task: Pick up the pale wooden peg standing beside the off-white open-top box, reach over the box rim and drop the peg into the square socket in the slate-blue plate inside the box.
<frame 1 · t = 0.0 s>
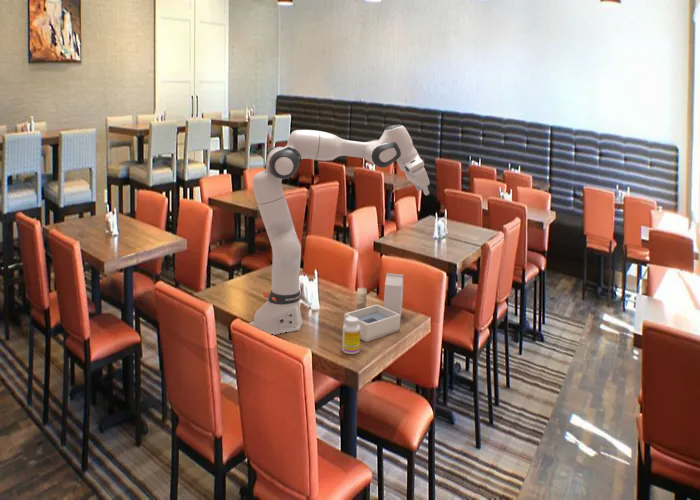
hand: (423, 192, 237), 54 cm above the table, tool tilted 30°, fingers open, 8 cm apart
supplement bottle: (350, 351, 218), on the table
socket box: (371, 330, 237), on the table
milk carton: (392, 315, 253), on the table
peg: (361, 315, 252), on the table
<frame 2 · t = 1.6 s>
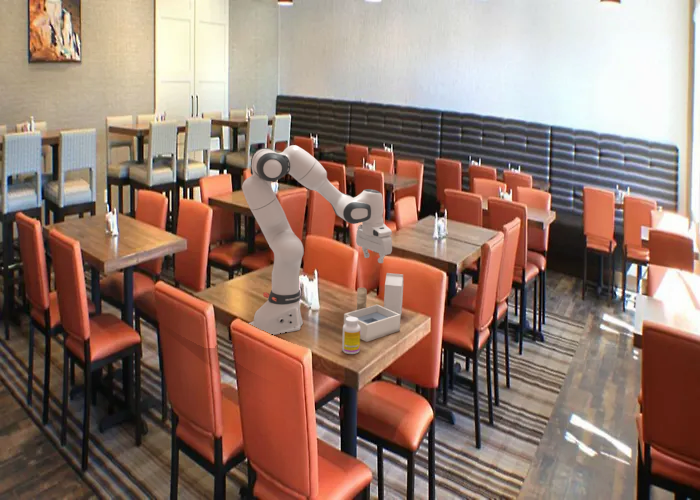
hand: (373, 260, 245), 25 cm above the table, tool pointing down, fingers open, 8 cm apart
nothing on the table moved.
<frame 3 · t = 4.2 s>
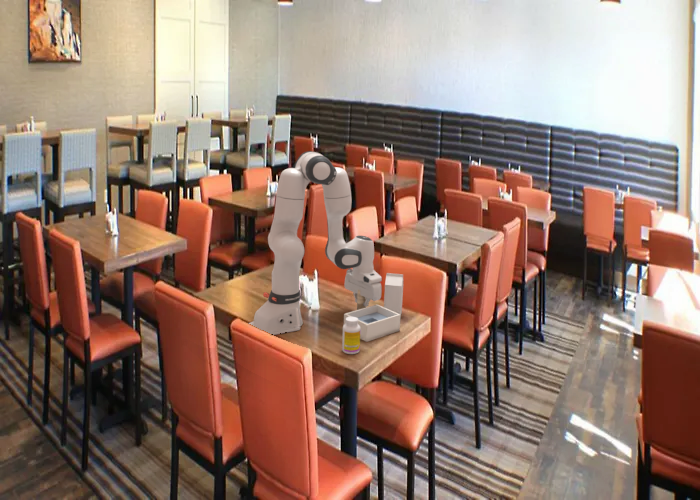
hand: (361, 304, 250), 5 cm above the table, tool pointing down, fingers closed on peg, 4 cm apart
peg: (361, 315, 252), on the table, touching gripper
everything else where it was.
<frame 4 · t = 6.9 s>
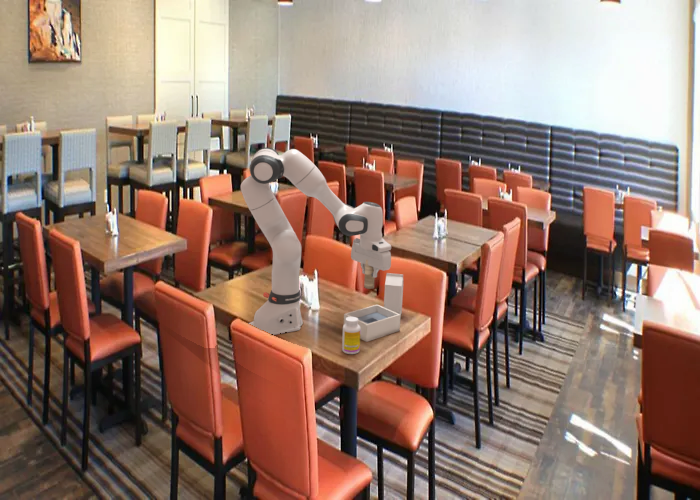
hand: (369, 275, 237), 21 cm above the table, tool pointing down, fingers closed on peg, 4 cm apart
peg: (369, 287, 238), point 16 cm above the table, touching gripper
everything else where it was.
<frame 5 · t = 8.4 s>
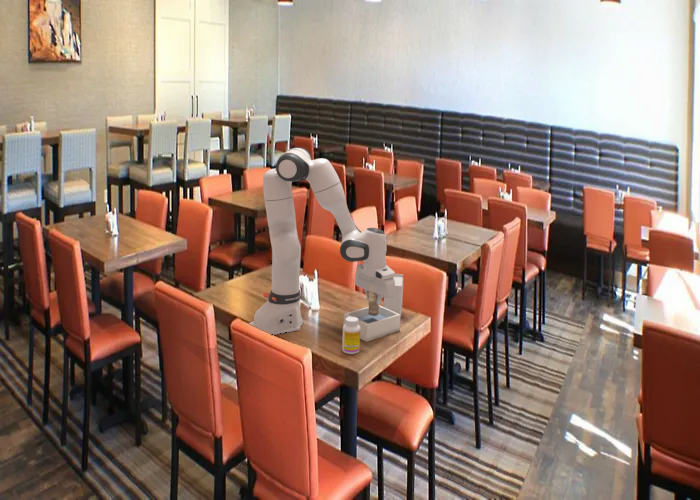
hand: (373, 301, 233), 12 cm above the table, tool pointing down, fingers closed on peg, 4 cm apart
peg: (373, 313, 235), point 7 cm above the table, touching gripper
everything else where it was.
when the fingers open (8 cm above the table, at t = 9.7 s): peg drops 1 cm, resting on socket box.
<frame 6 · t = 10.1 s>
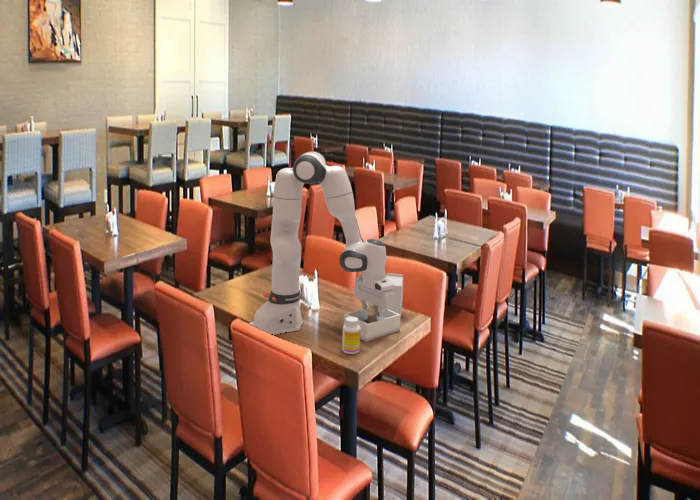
hand: (372, 312, 234), 8 cm above the table, tool pointing down, fingers open, 8 cm apart
peg: (371, 327, 236), point 1 cm above the table, touching socket box
everything else where it was.
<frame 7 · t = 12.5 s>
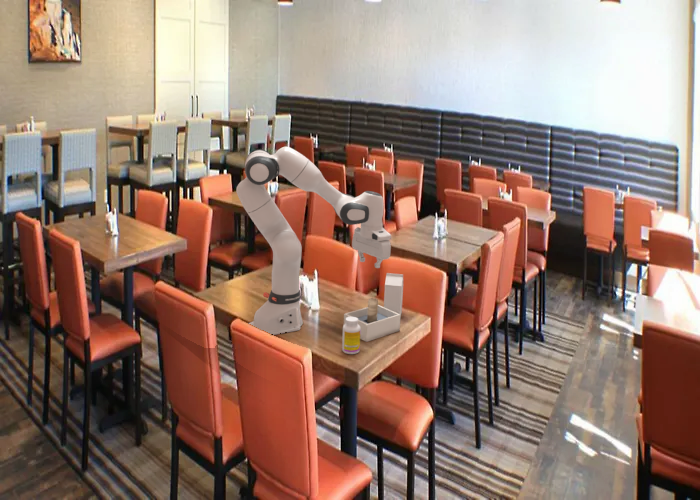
hand: (369, 264, 238), 25 cm above the table, tool pointing down, fingers open, 8 cm apart
nothing on the table moved.
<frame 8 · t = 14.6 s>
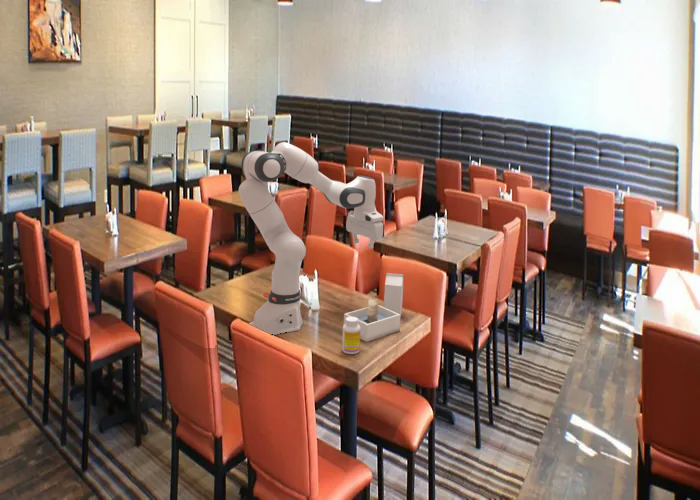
hand: (363, 245, 251), 29 cm above the table, tool pointing down, fingers open, 8 cm apart
nothing on the table moved.
at the end: peg 0.1 cm off-centre on the socket box, point 1.0 cm above the socket box's base; peg tilted 1°; the gripper is holding nothing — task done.
